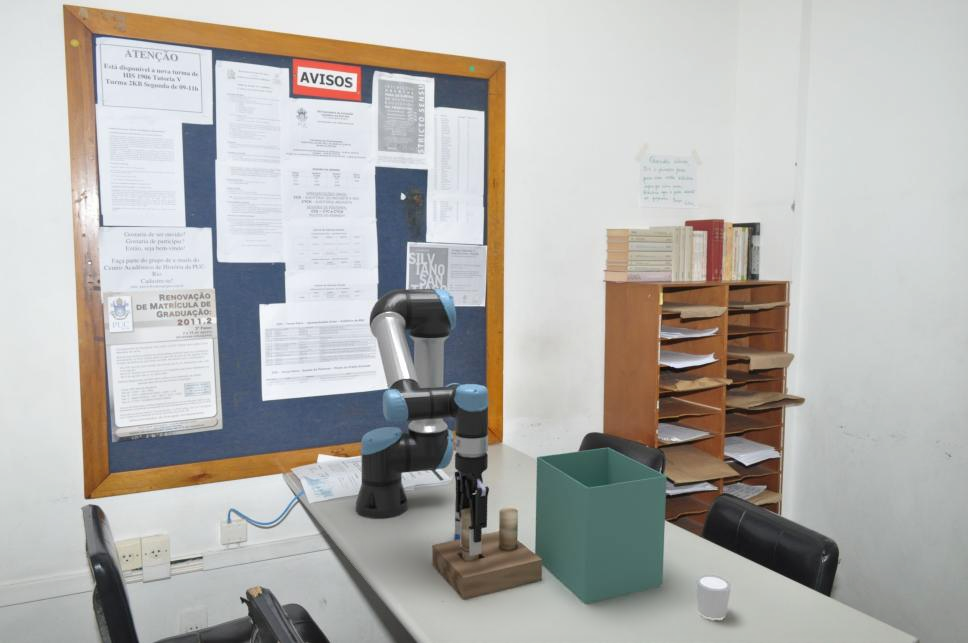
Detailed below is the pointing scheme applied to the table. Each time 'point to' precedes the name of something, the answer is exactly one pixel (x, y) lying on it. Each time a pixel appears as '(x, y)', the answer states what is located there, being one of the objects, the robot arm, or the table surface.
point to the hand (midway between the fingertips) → (470, 549)
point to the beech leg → (466, 535)
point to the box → (600, 522)
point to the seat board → (489, 561)
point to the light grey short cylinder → (712, 596)
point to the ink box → (457, 524)
